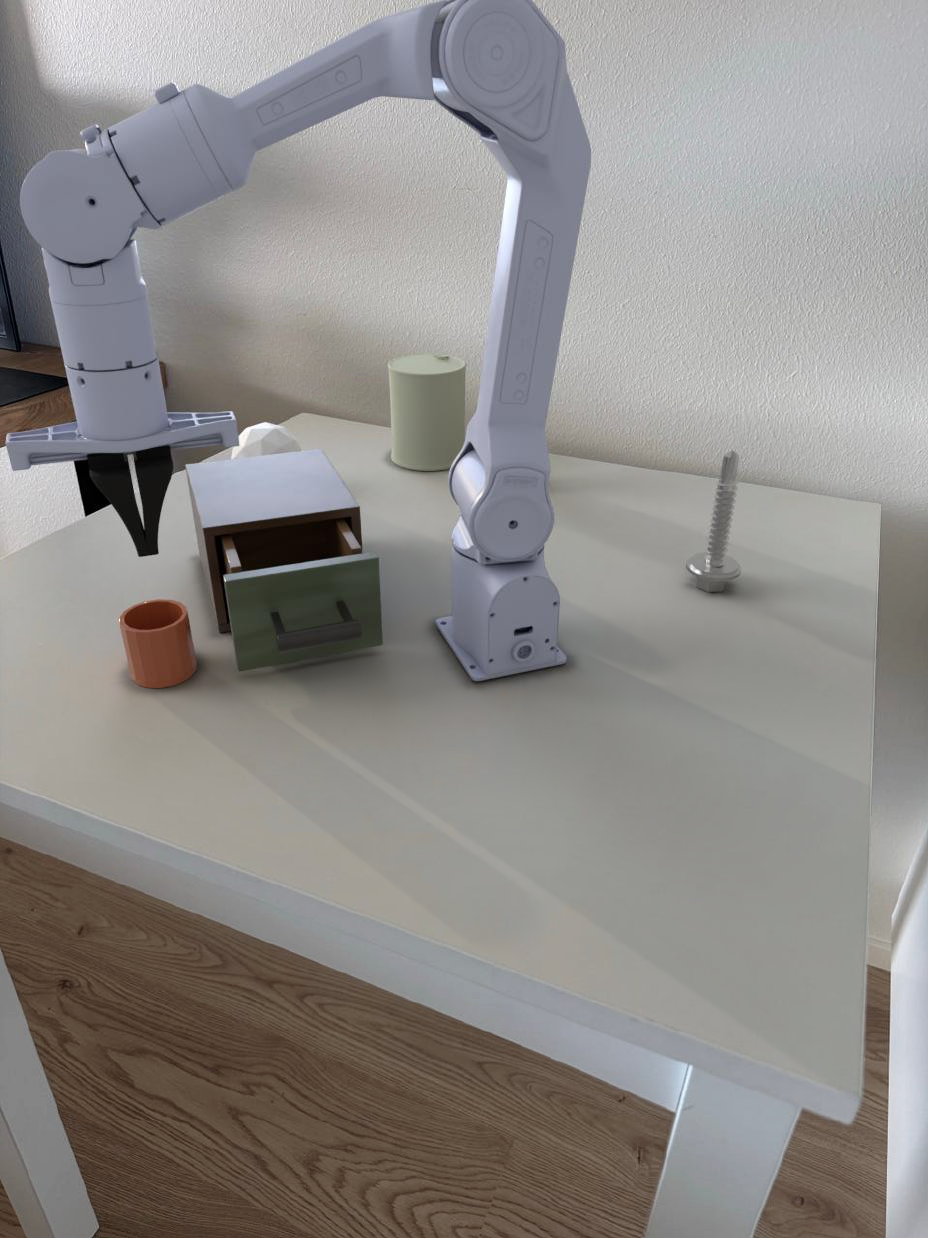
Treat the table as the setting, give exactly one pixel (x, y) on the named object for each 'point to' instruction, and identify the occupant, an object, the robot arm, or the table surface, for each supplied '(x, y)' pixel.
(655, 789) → the table surface
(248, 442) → the geometric ball
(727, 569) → the screw
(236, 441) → the robot arm
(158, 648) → the cup
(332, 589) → the drawer
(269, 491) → the cabinet
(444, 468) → the can
